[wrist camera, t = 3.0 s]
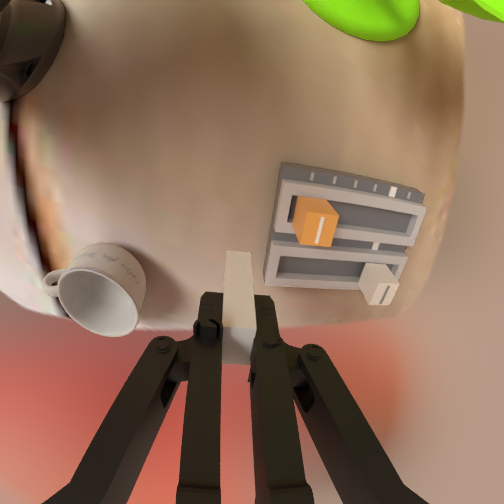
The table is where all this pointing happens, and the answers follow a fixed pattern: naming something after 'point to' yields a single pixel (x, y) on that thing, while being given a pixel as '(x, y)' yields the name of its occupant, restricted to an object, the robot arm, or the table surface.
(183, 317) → the table surface
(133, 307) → the teacup
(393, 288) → the fader
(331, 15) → the wineglass
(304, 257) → the console
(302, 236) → the fader
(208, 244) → the table surface
